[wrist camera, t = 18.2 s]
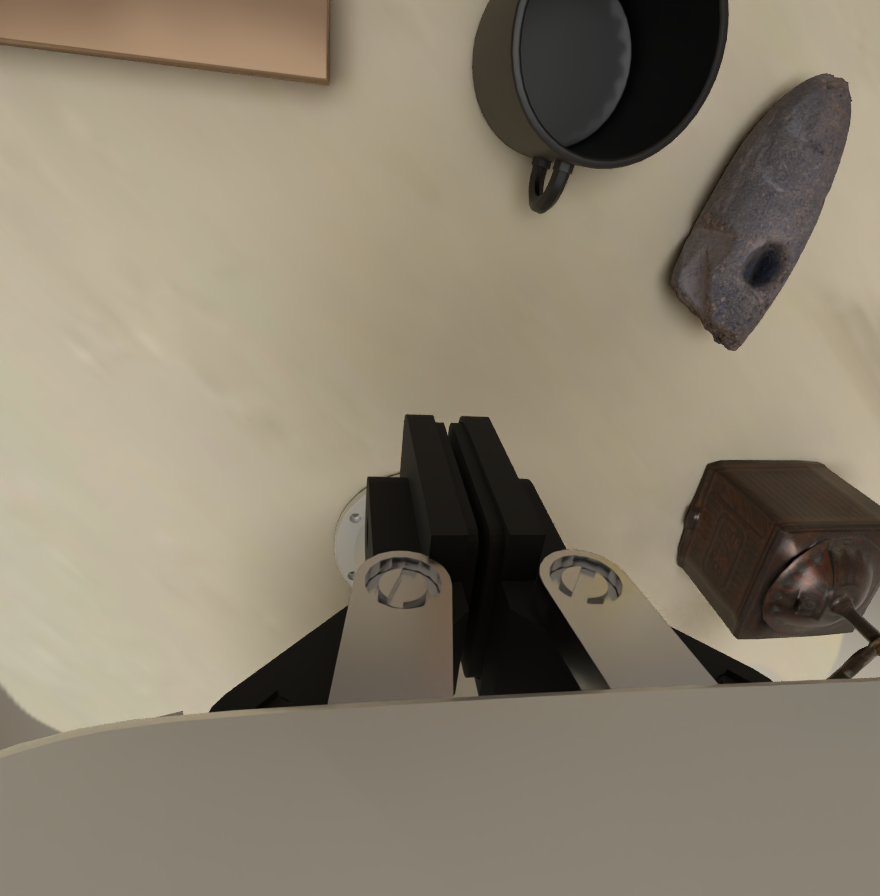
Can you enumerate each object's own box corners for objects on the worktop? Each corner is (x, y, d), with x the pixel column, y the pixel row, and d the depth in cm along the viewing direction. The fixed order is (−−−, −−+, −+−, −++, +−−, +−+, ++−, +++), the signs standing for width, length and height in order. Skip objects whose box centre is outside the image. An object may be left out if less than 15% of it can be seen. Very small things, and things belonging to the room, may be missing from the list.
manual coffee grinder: (700, 459, 47) (877, 626, 31) (822, 459, 48) (1048, 618, 33) (651, 605, 54) (775, 800, 38) (759, 601, 56) (919, 786, 40)
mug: (439, 181, 34) (467, 198, 26) (500, -75, 29) (557, -150, 21) (584, 222, 37) (649, 248, 29) (665, -9, 31) (771, -55, 23)
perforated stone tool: (762, 59, 34) (853, 44, 28) (829, 98, 35) (930, 92, 29) (634, 305, 40) (686, 337, 34) (696, 329, 41) (756, 363, 35)
